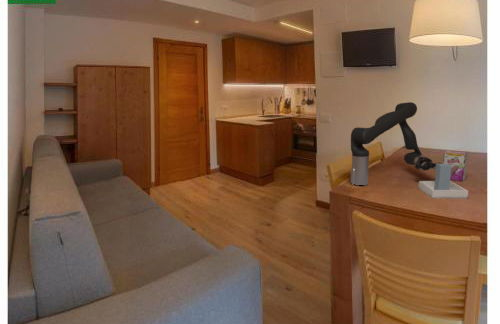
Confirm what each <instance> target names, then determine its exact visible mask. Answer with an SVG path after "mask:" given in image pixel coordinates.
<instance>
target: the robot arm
mask: <svg viewBox="0 0 500 324" xmlns="http://www.w3.org/2000/svg"><path fill="white" fill-rule="evenodd" d="M417 112H418V105H417V104H416V103H414V102H411V101H409V102H401V103H398V104H397V105H396V106H395V109H394V110H393V111H390V112H387V113H384V114H382V115H380V116H379V117H378V118H376V119H375V122H374V125H372V126H370V127H354V128H352V131H351V134H350V151H351V153H352V154H351V167H350V184H351V183H352V184H357V185H366V186H368V185H369V167H370V166H369V162H370V161H369V160H370V151H369V150H368V149H367V148H366V147H365V146H364V145H369V144H370V143H372V142H373V141H375V139H377V138H378V137H379V136H381V135H383V134H384V133H385V132H387V131H389V130H391V129H393V128H394V127H395V126H397V125H399V127H400V130H401V134H402V136H403V142H404V145H405V146H404V147H405V149H406V150H410V151H411V150H413V151H412V152H407V153H405V154H404V156H403V160H404V162H405V163H406V164H408V165H411V166H412V165H413V166H414V168H415V169H417V170H421V171H429V170H436V164H443V162H433V161H432V159H431V158H429V157H427V156H425V155H423V154H422V152H421V150H420V147H419V145H418V141H417V136H416V134H415V132H414V130H413V129H412V128H411V127H410V125H409V123H408V122H407V119H410V118H413V117H414V116H415V115H416V113H417ZM352 184H351V185H352ZM367 184H368V185H367Z"/></svg>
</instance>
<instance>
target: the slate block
mask: <svg viewBox="0 0 500 324" xmlns="http://www.w3.org/2000/svg"><path fill="white" fill-rule="evenodd" d="M450 176H451V165H448V164H443V163H442V164H436V169H435V177H434V181H435V187H434V190H449V187H450V181H451V180H450Z"/></svg>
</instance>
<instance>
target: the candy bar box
mask: <svg viewBox="0 0 500 324" xmlns="http://www.w3.org/2000/svg"><path fill="white" fill-rule="evenodd" d="M468 157H469V153H468V152H459V151H449V150H447V151H444V152H443V162H442V164H448V165H451V176H450V181H457V182H464V181H465V180H466V175H467V167H468V166H467V165H468Z"/></svg>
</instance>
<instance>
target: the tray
mask: <svg viewBox="0 0 500 324" xmlns="http://www.w3.org/2000/svg"><path fill="white" fill-rule="evenodd" d="M434 187H435V180H419V181H418V189H419V190H420V191H422V192H423V193H424V194H425V195H427V196H428V197H430V198H431V199H446V200H447V199H450V200H451V199H453V200H454V199H456V200H458V199H459V200H460V199H461V200H463V199H464V200H466V199H469V198H468V196H469V190H468V189H465V188H464V187H462V186H460V185H458V183H455V182H453V181H452V180H450V187H449V190H434Z"/></svg>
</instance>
